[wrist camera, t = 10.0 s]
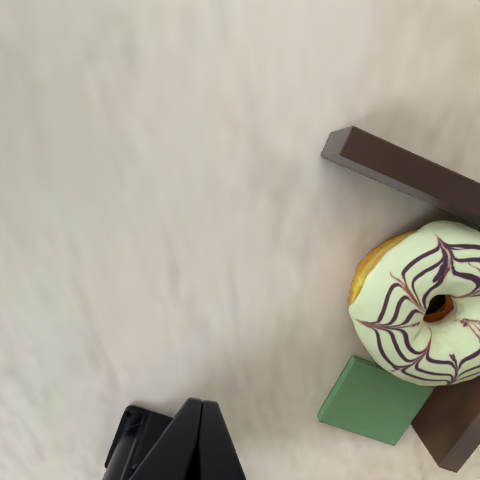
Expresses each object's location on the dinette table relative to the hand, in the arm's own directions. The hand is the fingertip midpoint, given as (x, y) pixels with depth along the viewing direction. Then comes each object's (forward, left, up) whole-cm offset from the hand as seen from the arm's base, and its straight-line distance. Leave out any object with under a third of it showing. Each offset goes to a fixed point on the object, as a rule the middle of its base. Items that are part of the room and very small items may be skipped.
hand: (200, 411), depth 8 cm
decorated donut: (+3, -13, -12) cm, 18 cm away
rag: (-6, -15, -12) cm, 20 cm away
